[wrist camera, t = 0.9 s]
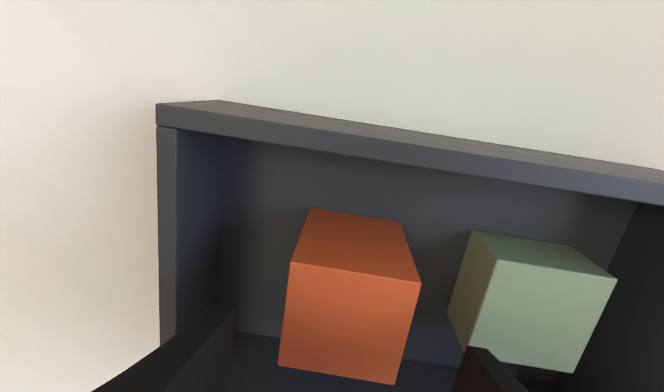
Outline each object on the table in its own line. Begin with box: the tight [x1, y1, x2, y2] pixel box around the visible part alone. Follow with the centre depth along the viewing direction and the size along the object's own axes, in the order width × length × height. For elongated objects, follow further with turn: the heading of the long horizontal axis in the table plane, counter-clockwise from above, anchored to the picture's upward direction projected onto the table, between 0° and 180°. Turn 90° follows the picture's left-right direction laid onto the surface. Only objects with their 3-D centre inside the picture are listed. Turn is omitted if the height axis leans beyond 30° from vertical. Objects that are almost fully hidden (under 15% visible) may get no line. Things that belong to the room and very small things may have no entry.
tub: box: [156, 100, 664, 392], centre depth 15 cm, size 13×20×5 cm, turn 81°
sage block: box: [447, 230, 617, 373], centre depth 15 cm, size 5×5×3 cm
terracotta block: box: [278, 208, 421, 385], centre depth 14 cm, size 4×4×5 cm
